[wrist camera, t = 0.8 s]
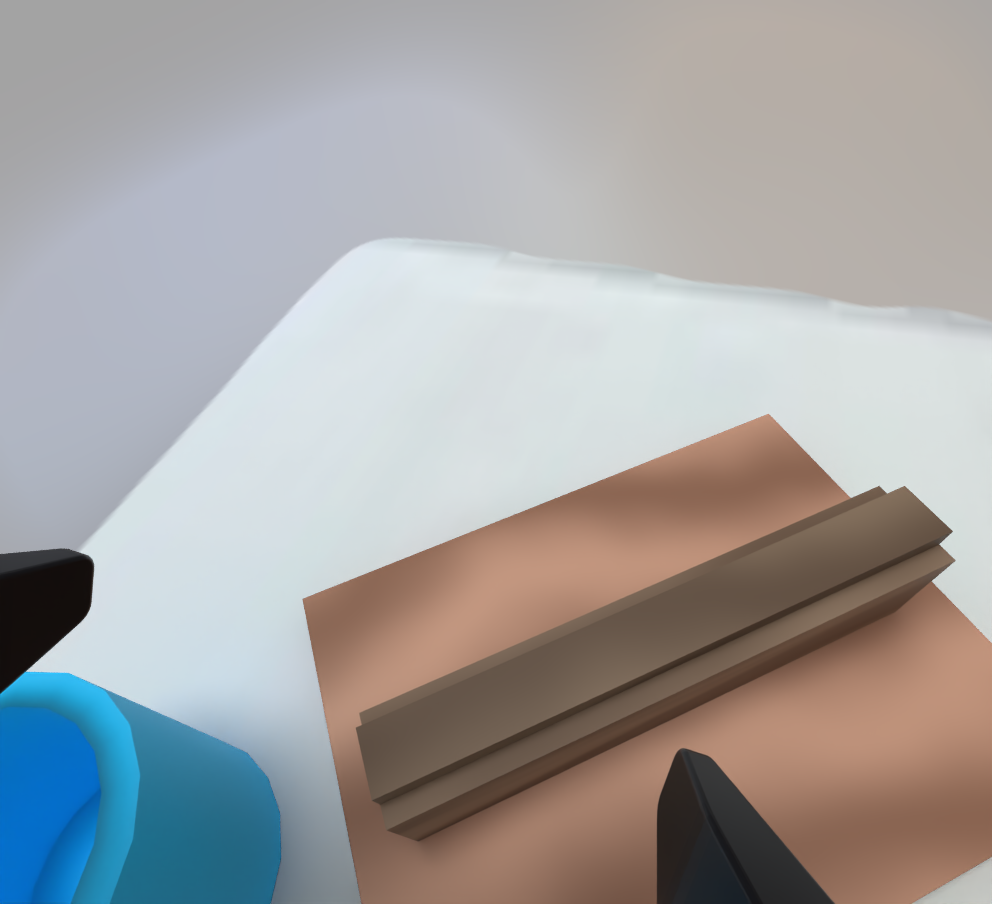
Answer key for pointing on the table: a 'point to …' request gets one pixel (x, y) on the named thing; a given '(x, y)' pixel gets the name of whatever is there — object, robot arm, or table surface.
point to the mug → (125, 804)
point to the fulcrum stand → (661, 686)
